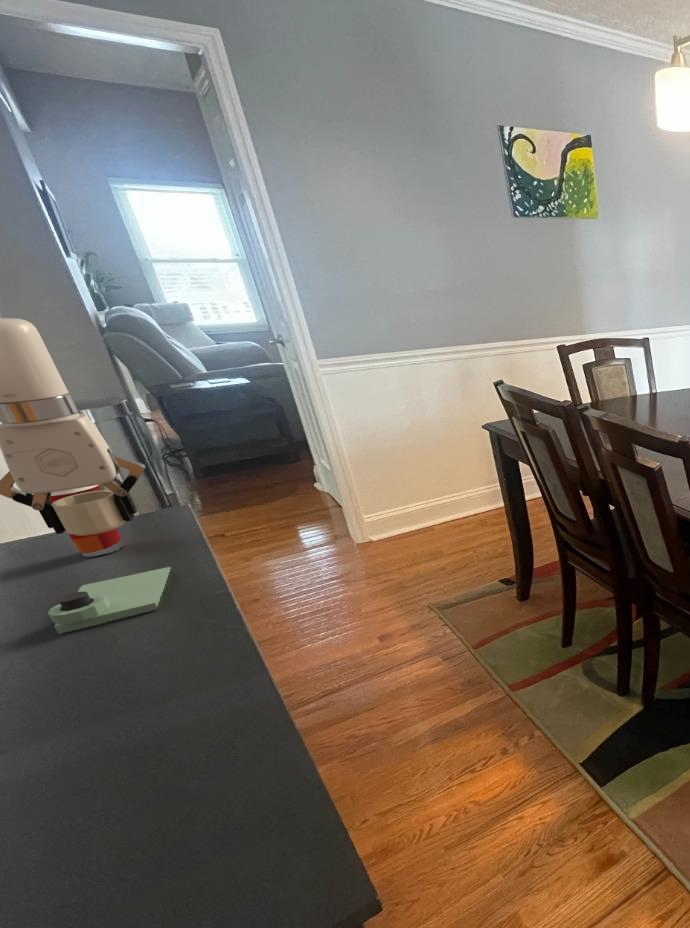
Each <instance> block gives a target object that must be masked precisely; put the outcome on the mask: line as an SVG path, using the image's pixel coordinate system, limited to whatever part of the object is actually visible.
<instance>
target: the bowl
mask: <svg viewBox="0 0 690 928" xmlns="http://www.w3.org/2000/svg"><path fill="white" fill-rule="evenodd" d="M115 497H116V496H115V494H114V493H113V492H112V491H110V490H109V489H108V490H107V489H104V490H102V489H101V491H93V492H86V493H81V494H76V495H72V496H69V497H65V498H62V499H59V500H57V501H55V502H53V503H52V504H51V507H52V508H53V510H54V512H55V514H56V516H57V517H58V519H59V521H60V523H61V525H62V526H63V528H64V530H65V531H64V533H66V534H67V535H68V534H74V535H77V536H84V535H92V534H98V533H102V532H106V531H109V530H112V529H115V528H117V529H118V528H119V527H122V526H123V525H124V524H125V522H127V521H124V519H123V517H122V515H121V513H120V511H119V509H118V507H117V505H116V503H115V501H114V498H115Z"/></svg>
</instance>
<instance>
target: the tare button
mask: <svg viewBox="0 0 690 928" xmlns="http://www.w3.org/2000/svg"><path fill="white" fill-rule="evenodd" d="M58 603H59V604H60V605H61V606H62V608H63V610H64V611H70V610H74V609H79V608H81V607H84V606H87V605H89V604H91V603H92V600H91V598H90V597H89V595H88V593H87V592H78V591H77V592H72V593H69V594H65V595H64V596H61V597H60V598H59V599H58Z"/></svg>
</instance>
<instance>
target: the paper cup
mask: <svg viewBox="0 0 690 928" xmlns="http://www.w3.org/2000/svg"><path fill="white" fill-rule="evenodd" d="M93 491H102V488H101V485H95V486H88V487H82V488H76V489H69V490H63V491H56V492H52V493H51V498H50V501H51V502H52V503H53V502H55V501H57V500H59V499H62V498H65V497H69V496H72V495H76V494H81V493H86V492H93ZM67 535H68V537H69V538H70V539H71V541H72V543H73V545H74V546H75V547H76V549H77V550H78V551H79V553H80V552H81V553H91V552H96V551H99V550H103V549H106V548H108V547H111V546H112V545H114V544H117V543H118V542H119V541H120V540H122V538H121V535H120V533H119V531H118V527H117V528H115V529H112V530H109V531H106V532H102V533H98V534H92V535H84V536H77V535H74V534H68V533H67ZM81 553H80V554H81Z"/></svg>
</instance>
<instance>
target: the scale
mask: <svg viewBox="0 0 690 928" xmlns="http://www.w3.org/2000/svg"><path fill="white" fill-rule="evenodd" d="M170 569H172V567H171V566H167V567H163V568H157V569H154V570H153V569H152V570H148V571H143V572H139V573H134V574H130V575H125V576H120V577H116V578H110V579H105V580H101V581H96V582H91V583H86V584H82V585H81V586H80V587H79V588H78V590H77V592H87V593H88V595H89V597H90V598H91V600H92V603H91V604H89V605H87V606H84V607H81V608H79V609H74V610H70V611H64V610H63V608H62V606H61V605H60V603H59V604H57V605H55V606H52V607H50V609H49V611H48V612H47V615H48V616H49V618H50V620H51V621H52V623H55V624H54V626H53V628H54V629H55V631H56V633H57V634H58V635H60V634H65V633H69V632H73V631H78V630H81V629H85V628H90V627H94V626H97V625H98V626H99V625H102V623H103V624H106V622H107V623H109V622H108V621H111V622H113V621H112V620H115V619H118V618H121V617H124V616H126V615H130V614H133V613H136V612H140V611H145V610H149V609H153V608H156V607H157V606H158V603H159V601H160V597H161V595H162V592H163V590H164V587H165V584H166V581H167V578H168V575H169V572H170ZM115 621H116V620H115Z"/></svg>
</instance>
